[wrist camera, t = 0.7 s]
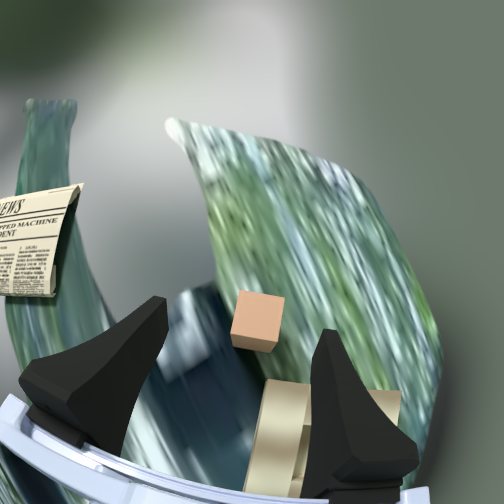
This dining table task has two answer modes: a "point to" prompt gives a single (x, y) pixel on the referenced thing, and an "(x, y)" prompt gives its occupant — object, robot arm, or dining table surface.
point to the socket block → (291, 437)
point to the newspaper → (32, 240)
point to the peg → (257, 321)
